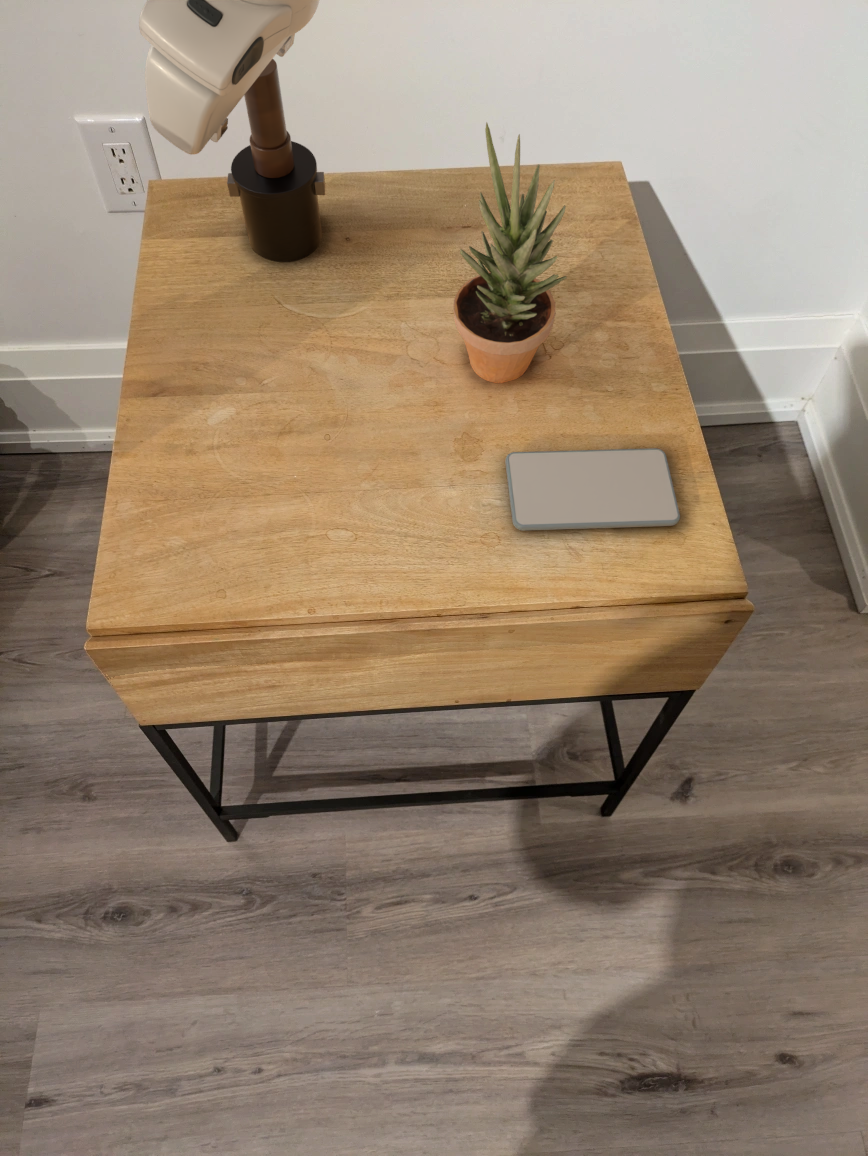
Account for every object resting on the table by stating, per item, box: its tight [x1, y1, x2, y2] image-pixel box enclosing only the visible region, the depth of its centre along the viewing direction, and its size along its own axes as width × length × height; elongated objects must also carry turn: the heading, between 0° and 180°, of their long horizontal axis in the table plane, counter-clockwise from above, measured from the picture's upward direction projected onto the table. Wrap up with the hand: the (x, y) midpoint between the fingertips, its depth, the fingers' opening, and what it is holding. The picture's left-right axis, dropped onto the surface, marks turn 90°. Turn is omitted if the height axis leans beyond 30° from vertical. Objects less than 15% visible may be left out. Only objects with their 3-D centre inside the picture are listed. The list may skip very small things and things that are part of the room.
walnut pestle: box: [243, 58, 294, 178], centre depth 81 cm, size 4×4×10 cm
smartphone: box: [504, 447, 681, 531], centre depth 77 cm, size 8×1×15 cm
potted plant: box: [453, 121, 568, 384], centre depth 74 cm, size 10×10×25 cm
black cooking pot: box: [226, 140, 326, 263], centre depth 89 cm, size 10×9×9 cm
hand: (246, 87), depth 68 cm, fingers open, 8 cm apart
